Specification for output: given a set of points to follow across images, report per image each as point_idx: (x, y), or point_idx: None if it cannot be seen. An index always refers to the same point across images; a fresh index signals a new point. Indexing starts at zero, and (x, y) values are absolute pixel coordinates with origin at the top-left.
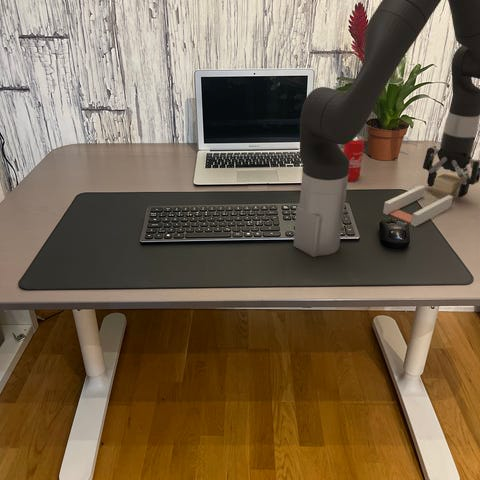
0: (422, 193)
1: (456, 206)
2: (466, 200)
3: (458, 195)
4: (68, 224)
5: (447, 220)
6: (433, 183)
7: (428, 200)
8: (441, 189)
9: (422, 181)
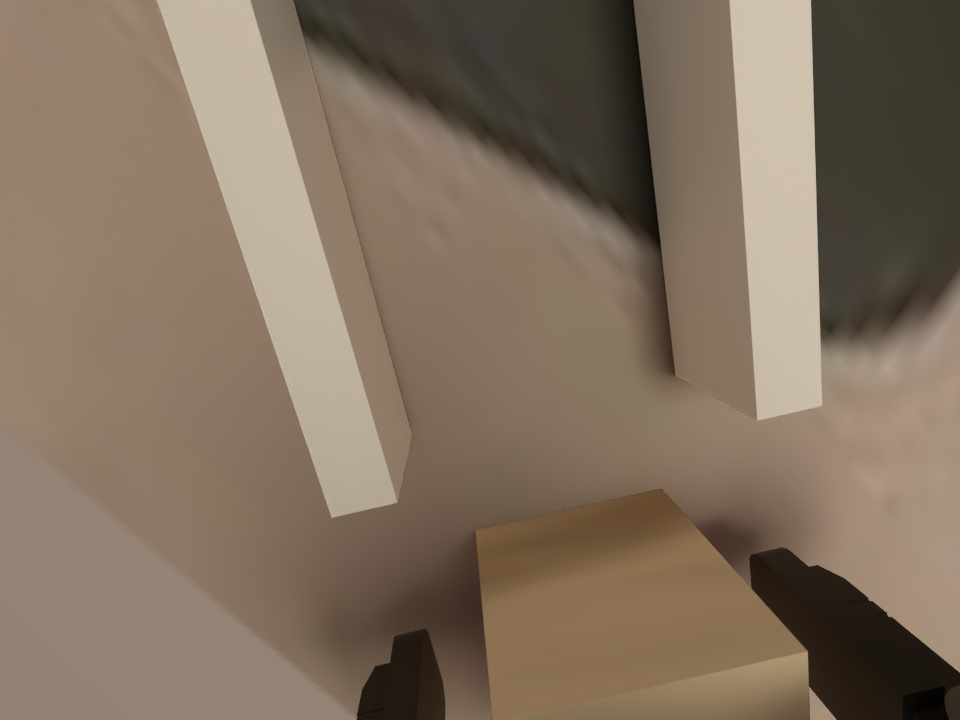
0: (700, 363)
1: None
2: None
3: (417, 639)
4: None
5: (115, 165)
6: None
7: (590, 368)
8: (604, 573)
9: None
